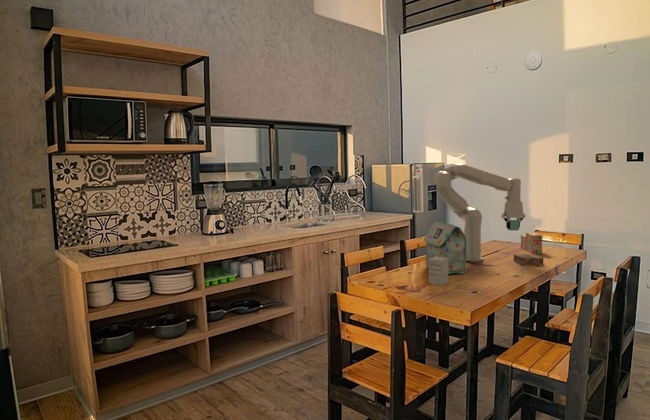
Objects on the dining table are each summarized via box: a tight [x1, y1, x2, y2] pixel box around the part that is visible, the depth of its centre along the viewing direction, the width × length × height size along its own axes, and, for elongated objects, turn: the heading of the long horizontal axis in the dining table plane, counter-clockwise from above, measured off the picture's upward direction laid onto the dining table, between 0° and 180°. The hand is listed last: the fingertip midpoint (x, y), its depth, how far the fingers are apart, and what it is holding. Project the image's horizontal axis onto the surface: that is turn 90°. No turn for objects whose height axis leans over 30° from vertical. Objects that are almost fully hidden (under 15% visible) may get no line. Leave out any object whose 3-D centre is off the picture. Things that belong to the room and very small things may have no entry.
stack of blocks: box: [520, 231, 543, 255], centre depth 301 cm, size 21×6×12 cm, turn 175°
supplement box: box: [428, 257, 449, 286], centre depth 228 cm, size 7×7×13 cm
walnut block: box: [513, 253, 544, 266], centre depth 267 cm, size 12×12×4 cm
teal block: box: [506, 219, 520, 231], centre depth 279 cm, size 5×5×6 cm
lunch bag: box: [423, 220, 467, 275], centre depth 253 cm, size 23×16×27 cm
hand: (513, 228), depth 279 cm, fingers closed on teal block, 5 cm apart
